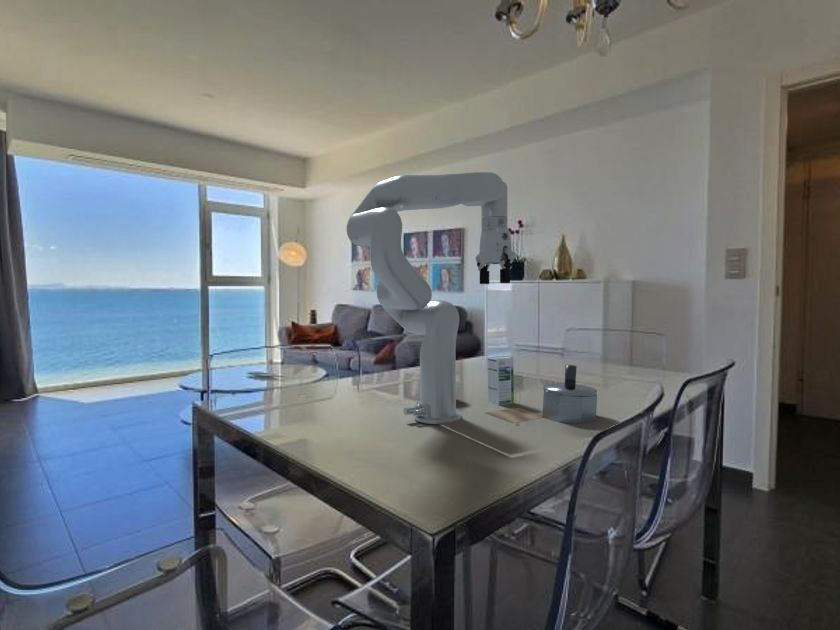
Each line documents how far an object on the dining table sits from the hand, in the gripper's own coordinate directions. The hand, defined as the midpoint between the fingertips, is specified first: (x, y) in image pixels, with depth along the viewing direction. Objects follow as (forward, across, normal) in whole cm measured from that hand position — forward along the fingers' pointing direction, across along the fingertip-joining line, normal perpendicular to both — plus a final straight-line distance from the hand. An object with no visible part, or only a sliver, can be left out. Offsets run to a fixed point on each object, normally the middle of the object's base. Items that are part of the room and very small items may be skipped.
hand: (494, 283), depth 139 cm
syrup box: (+36, +1, -3) cm, 37 cm away
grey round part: (+36, -21, -8) cm, 43 cm away
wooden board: (+36, -13, +3) cm, 39 cm away
